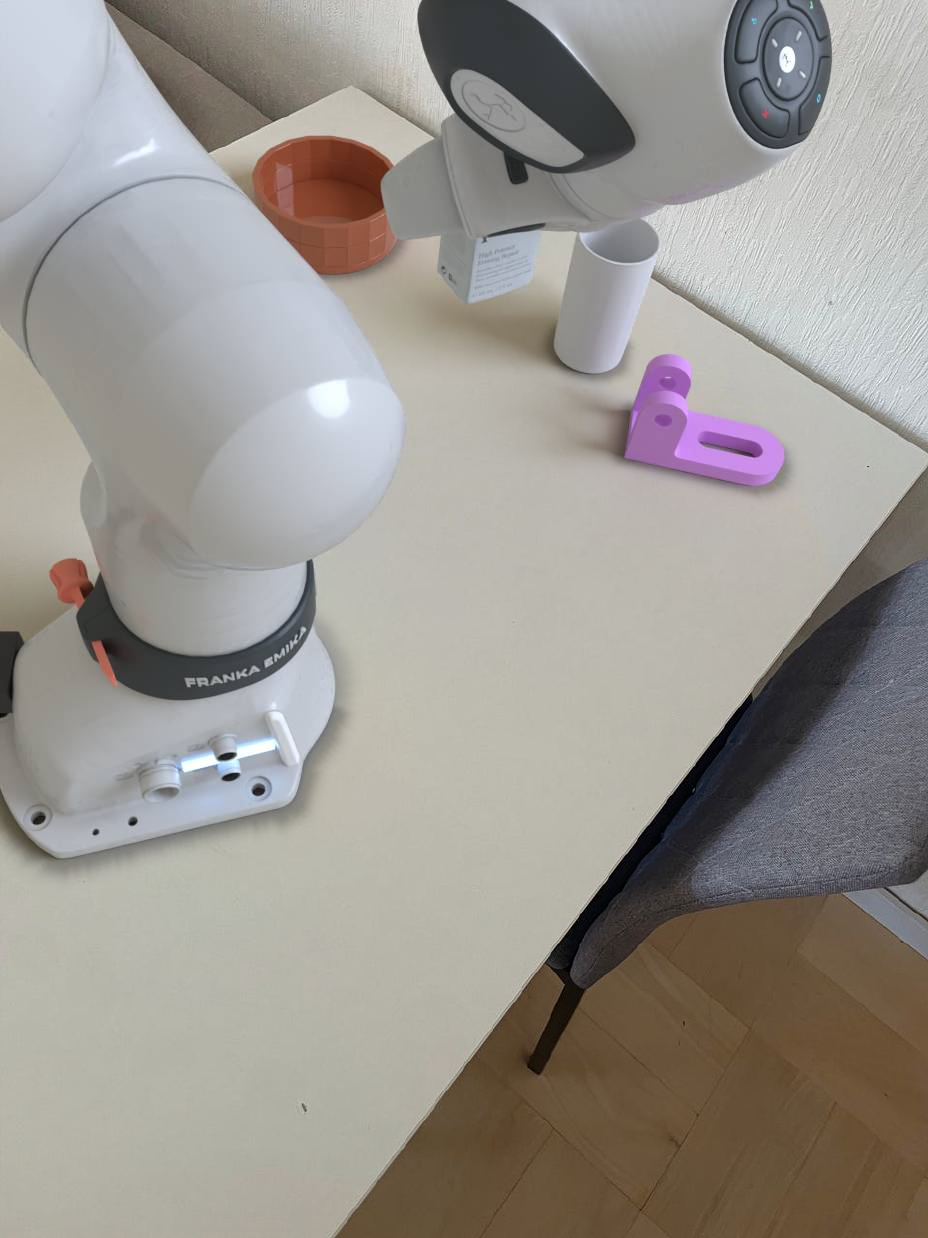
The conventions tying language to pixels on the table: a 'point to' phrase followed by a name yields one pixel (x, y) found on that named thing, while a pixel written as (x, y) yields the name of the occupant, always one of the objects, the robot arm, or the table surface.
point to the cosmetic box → (487, 263)
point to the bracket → (694, 431)
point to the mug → (604, 294)
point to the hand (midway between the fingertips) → (491, 193)
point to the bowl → (326, 201)
